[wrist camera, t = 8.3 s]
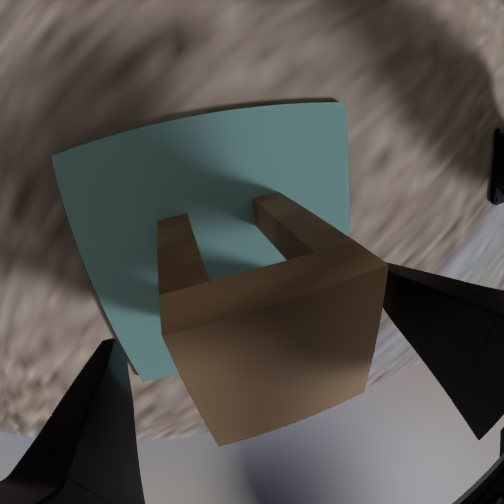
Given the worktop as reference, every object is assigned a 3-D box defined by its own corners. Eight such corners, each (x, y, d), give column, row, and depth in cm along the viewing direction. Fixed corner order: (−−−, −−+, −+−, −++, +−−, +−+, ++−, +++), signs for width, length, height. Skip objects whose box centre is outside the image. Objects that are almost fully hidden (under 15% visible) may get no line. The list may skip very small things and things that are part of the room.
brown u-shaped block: (279, 192, 12) (388, 264, 6) (288, 292, 14) (363, 391, 8) (157, 221, 11) (161, 335, 5) (187, 321, 13) (219, 446, 7)
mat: (340, 102, 11) (345, 102, 11) (340, 317, 17) (344, 321, 16) (54, 154, 9) (51, 156, 8) (142, 376, 14) (142, 381, 14)
